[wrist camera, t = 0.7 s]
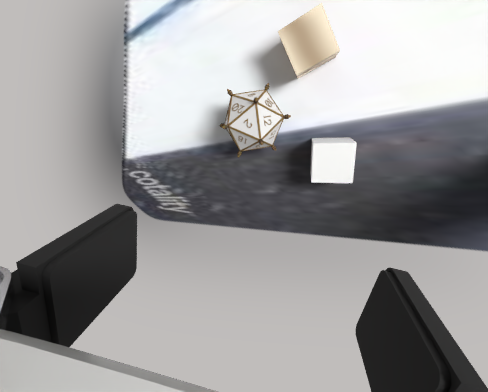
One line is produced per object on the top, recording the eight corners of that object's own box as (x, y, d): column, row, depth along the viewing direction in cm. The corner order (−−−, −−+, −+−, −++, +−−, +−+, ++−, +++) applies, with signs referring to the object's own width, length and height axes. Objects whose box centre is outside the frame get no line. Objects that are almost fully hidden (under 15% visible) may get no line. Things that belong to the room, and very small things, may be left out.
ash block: (319, 17, 31) (321, 3, 27) (334, 57, 32) (340, 50, 28) (281, 41, 33) (277, 31, 28) (297, 78, 34) (296, 75, 29)
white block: (349, 137, 35) (356, 142, 30) (346, 173, 37) (352, 183, 32) (311, 138, 36) (312, 143, 31) (310, 172, 38) (311, 182, 33)
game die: (251, 124, 41) (196, 135, 35) (268, 70, 35) (206, 73, 29) (289, 159, 37) (235, 178, 31) (316, 105, 31) (255, 115, 25)
